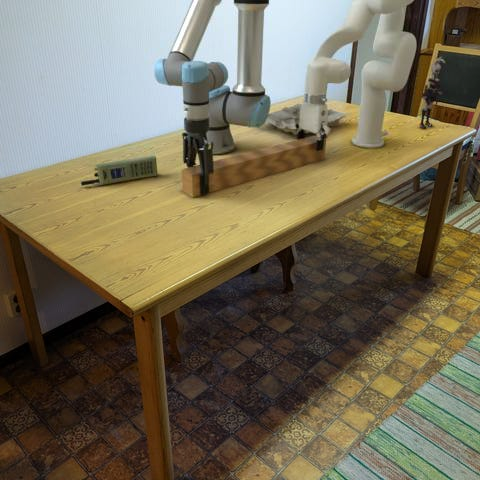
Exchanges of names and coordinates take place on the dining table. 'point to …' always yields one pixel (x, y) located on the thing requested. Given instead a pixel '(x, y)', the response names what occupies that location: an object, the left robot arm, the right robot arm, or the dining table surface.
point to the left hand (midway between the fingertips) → (198, 189)
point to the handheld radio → (124, 170)
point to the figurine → (431, 92)
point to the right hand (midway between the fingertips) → (309, 146)
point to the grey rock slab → (287, 116)
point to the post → (253, 165)
